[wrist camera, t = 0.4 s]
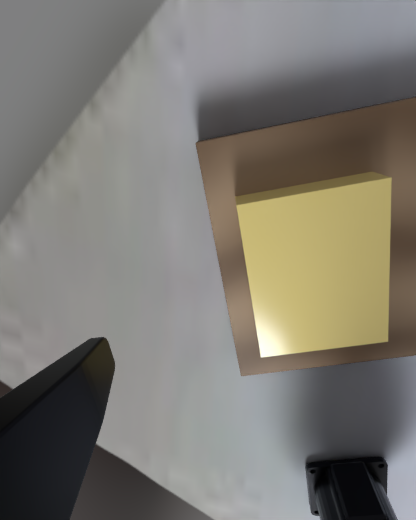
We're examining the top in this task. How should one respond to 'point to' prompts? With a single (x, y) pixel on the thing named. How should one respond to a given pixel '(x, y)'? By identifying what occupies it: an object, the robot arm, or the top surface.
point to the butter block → (319, 263)
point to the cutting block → (307, 171)
